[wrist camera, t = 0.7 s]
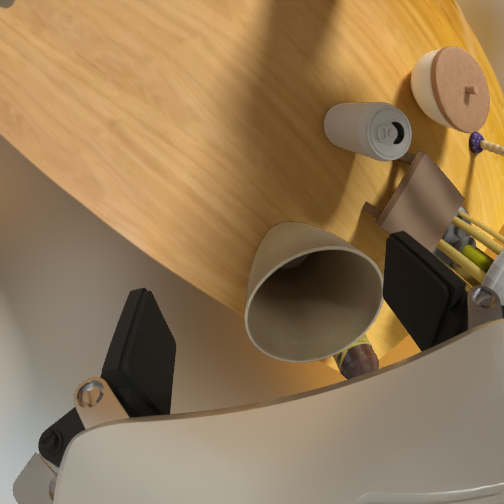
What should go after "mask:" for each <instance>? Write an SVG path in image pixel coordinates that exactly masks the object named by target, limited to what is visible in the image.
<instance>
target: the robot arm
mask: <svg viewBox="0 0 504 504" xmlns="http://www.w3.org/2000/svg"><path fill="white" fill-rule="evenodd" d="M465 287H466V283H465V282H464V281H463V280H462V279H461V278H460V277H459V276H458V275H456V274H455V273H454V272H453V271H452V270H451V269H450V268H449V267H448V266H446V265H445V264H444V263H443V262H442V261H441V260H439V259H438V258H437V257H436V256H435V255H434V254H432V253H431V252H430V251H429V250H428V249H426V248H425V247H424V246H423V245H421V244H420V243H419V242H418V241H417V240H415V239H414V238H413V237H412V236H410V235H409V234H408V233H406V232H405V231H399V232H395V233H391V234H390V236H389V238H387V241H386V256H385V269H384V280H383V290H382V294H383V298H384V300H385V301H386V303H387V304H388V305H389V307H390V308H391V309H392V311H393V312H394V313H395V315H396V316H397V317H398V319H399V320H400V322H401V323H402V324H403V326H404V327H405V328H406V330H407V331H408V333H409V334H410V335H411V337H412V338H413V340H414V341H415V342H416V344H417V345H418V347H419V348H420V350H421V351H422V352H420V353H418V354H416V355H414V356H411V357H409V358H406V359H404V360H402V361H399V362H396V363H394V364H391V365H389V366H386V367H383V368H381V369H378V370H375V371H372V372H369V373H367V374H364V375H361V376H358V377H355V378H352V379H349V380H345V381H342V382H339V383H336V384H333V385H329V386H325V387H322V388H318V389H315V390H311V391H307V392H303V393H299V394H295V395H291V396H287V397H282V398H278V399H273V400H269V401H263V402H259V403H253V404H248V405H242V406H236V407H229V408H223V409H215V410H207V411H199V412H190V413H181V414H170V407H171V396H172V384H173V374H174V363H175V355H176V342H175V340H174V337H173V336H172V334H171V332H170V329H169V328H168V325H167V323H166V321H165V319H164V318H163V315H162V313H161V311H160V309H159V307H158V305H157V302H156V300H155V298H154V296H153V294H152V292H151V291H147V290H146V289H145V288H141V289H136V290H132V291H130V293H129V295H128V298H127V301H126V303H125V306H124V309H123V311H122V313H121V316H120V319H119V321H118V324H117V327H116V330H115V333H114V335H113V338H112V341H111V344H110V347H109V350H108V353H107V356H106V359H105V362H104V365H103V368H102V374H101V377H92V378H88V379H87V380H84V381H83V382H82V383H81V384H80V385H79V386H78V387H77V389H76V390H75V393H74V398H73V401H74V405H75V407H74V408H73V409H72V410H71V411H69V412H68V413H67V414H66V415H64V416H63V417H62V418H61V419H59V420H58V421H57V422H56V423H54V424H53V425H52V426H50V427H49V428H48V429H46V430H45V431H44V432H43V433H42V435H41V437H40V440H39V451H40V453H39V455H38V454H37V453H35V454H34V455H33V456H32V458H31V459H30V461H29V462H28V463H27V465H26V466H25V468H24V469H23V470H22V472H21V473H20V475H19V476H18V478H17V479H16V480H15V482H14V485H13V494H14V497H15V499H16V501H17V502H18V504H504V306H503V305H501V302H500V298H499V296H498V295H497V293H496V292H495V291H493V290H492V289H490V288H488V287H485V286H474V287H472V288H470V289H469V291H468V292H467V291H466V290H465Z"/></svg>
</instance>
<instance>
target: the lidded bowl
mask: <svg viewBox="0 0 504 504" xmlns="http://www.w3.org/2000/svg"><path fill="white" fill-rule="evenodd" d="M410 83H411V90H412V93H413V96H414V98H415V100H416V102H417V104H418V105H419V107H420V108H421V109H422V111H423V112H424V113H425V114H426V115H427V116H428V117H429V118H431V119H432V120H433V121H435V122H437V123H439V124H441V125H443V126H445V127H448V128H452V129H455V130H458V131H461V132H464V133H474V132H476V131H478V130H479V129H480V128H481V127H482V126H483V125H484V123H485V121H486V119H487V116H488V112H489V105H490V99H489V90H488V85H487V82H486V79H485V76H484V74H483V72H482V70H481V68H480V66H479V65H478V63H477V62H476V60H475V59H474V58H473V57H472V56H471V55H470V54H469V53H468V52H466V51H465V50H463V49H461V48H459V47H454V46H450V47H445V48H442V49H437V50H433V51H430V52H428V53H426V54H424V55H423V56H421V57H420V58H419V59H418V60H417V62H416V63H415V65H414V67H413V69H412V73H411V81H410Z"/></svg>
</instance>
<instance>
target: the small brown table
mask: <svg viewBox="0 0 504 504" xmlns="http://www.w3.org/2000/svg"><path fill="white" fill-rule="evenodd" d="M397 160H398V161H401V162H404V163H406V164H409V165H410V167H409V169H408V170H407V172H406V174H405V175H404V177H403V179H402V180H401V182H400V184H399V185H398V187H397V189H396V190H395V192H394V194H393V195H392V197H391V199H390V200H389V202H388V203H387V205H386V207H385V208H384V210H383V211H382V212H381V211H380V210H378V209H377V208H375V207H374V206H372V205H371V204H369V203H368V202H366V203H365V204H364V206H363V209H364V210H366V211H367V212H368V213H370V214H371V215H372V216H374V217H375V218H376V219H377V221H376V222H375V223H376V224H377V225H378V226H379V227H381V228H382V229H384V230H385V231H386V232H388V233H389V234H391V233H395V232H399V231H405V232H406V233H408V234H409V235H410V236H412V237H413V238H414V239H415V240H417V241H418V242H419V243H420V244H421V245H423V246H424V247H425V248H426V249H428V250H429V251H430V252H431V253H432V252H433V251H434V249H435V248H436V246H437V245H438V243H439V242H440V240H441V238H442V237H443V235H444V234H445V232H446V230H447V229H448V227H449V226H450V224H451V222H452V221H453V219H454V217H455V215H456V214H457V212H458V210H459V208H460V207H461V205H462V203H463V201H464V197H463V196H462V195H461V193H460V192H459V191H458V190H457V188H456V187H455V186H454V185H453V184H452V182H451V181H450V180H449V179H448V178H447V176H446V175H445V174H444V173H443V172H442V171H441V169H440V168H439V167H438V166H437V165H436V164H435V163H434V162H433V161H432V159H431V158H430V157H429V156H428V155H427V154H426V153H424V152H421V151H418V153H417V154H416V156H415V155H412V154H409V153H405V154H404V155H403V156H402V157H400V158H398V159H397Z"/></svg>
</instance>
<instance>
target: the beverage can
mask: <svg viewBox="0 0 504 504" xmlns="http://www.w3.org/2000/svg"><path fill="white" fill-rule="evenodd" d="M324 131H325V134H326V136H327V138H328V139H329V140H330V142H331V143H332V144H334V145H335V146H337V147H339V148H342V149H346V150H349V151H352V152H355V153H358V154H361V155H364V156H367V157H370V158H372V159H375V160H378V161H390V160H396V159H398V158H400V157H402V156H403V155H404V154H405V153H406V152H407V150H408V149H409V146H410V143H411V139H412V130H411V125H410V122H409V120H408V118H407V117H406V115H405V114H404V113H403V112H402V111H401V110H399V109H398V108H396V107H394V106H393V105H391V104H388V103H384V102H361V103H341V104H337V105H335V106H333V107H332V108H330V109H329V111H328V112H327V114H326V116H325V119H324Z"/></svg>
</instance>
